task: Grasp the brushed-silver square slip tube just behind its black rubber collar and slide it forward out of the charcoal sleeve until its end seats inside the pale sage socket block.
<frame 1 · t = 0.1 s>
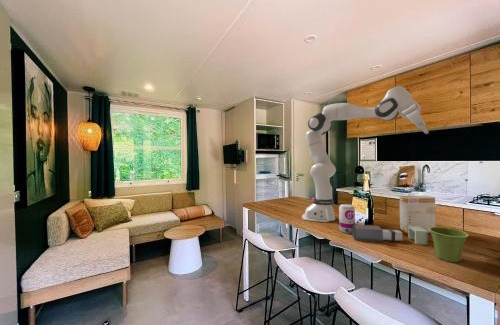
hand: (426, 132, 110), 54 cm above the table, tool tilted 30°, fingers open, 8 cm apart
coffeecake box: (417, 231, 120), on the table
supplement can: (347, 231, 122), on the table
socket: (417, 241, 105), on the table
sleeve: (366, 238, 111), on the table
slip tube: (377, 233, 109), point 3 cm above the table, slide at 0.0 cm
plant pot: (448, 259, 87), on the table
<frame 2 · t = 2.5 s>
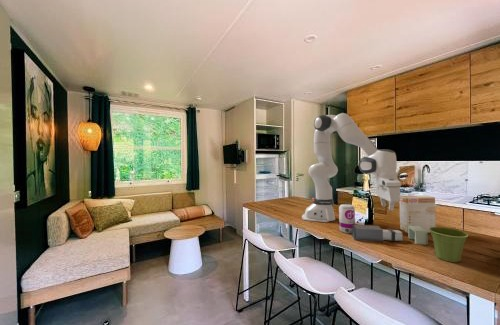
hand: (387, 208, 108), 16 cm above the table, tool pointing down, fingers open, 8 cm apart
nothing on the table moved.
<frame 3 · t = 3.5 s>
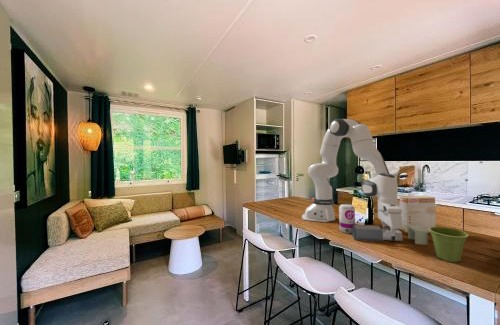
hand: (388, 232, 108), 4 cm above the table, tool pointing down, fingers open, 8 cm apart
nothing on the table moved.
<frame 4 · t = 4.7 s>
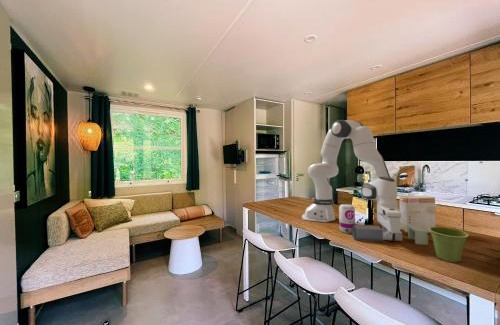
hand: (387, 235, 108), 2 cm above the table, tool pointing down, fingers closed on slip tube, 4 cm apart
slip tube: (377, 233, 109), point 3 cm above the table, slide at 0.0 cm, touching gripper
everything else where it was.
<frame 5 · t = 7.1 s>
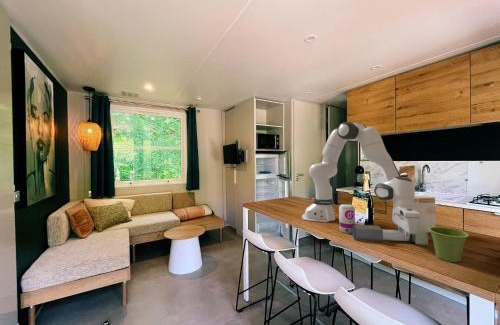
hand: (404, 236, 106), 2 cm above the table, tool pointing down, fingers closed on slip tube, 4 cm apart
slip tube: (393, 234, 108), point 3 cm above the table, slide at 7.5 cm, touching gripper
everything else where it was.
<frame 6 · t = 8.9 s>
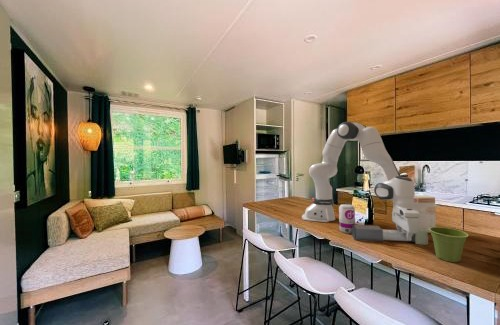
hand: (404, 236, 106), 2 cm above the table, tool pointing down, fingers open, 8 cm apart
slip tube: (393, 234, 108), point 3 cm above the table, slide at 7.5 cm
everything else where it was.
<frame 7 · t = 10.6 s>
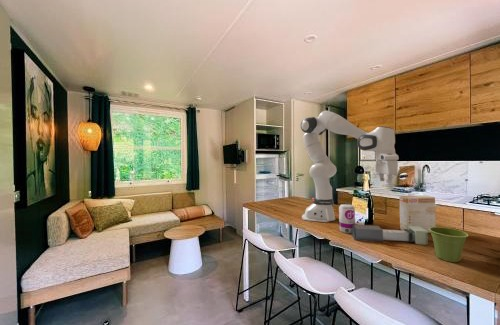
hand: (385, 182, 114), 29 cm above the table, tool pointing down, fingers open, 8 cm apart
nothing on the table moved.
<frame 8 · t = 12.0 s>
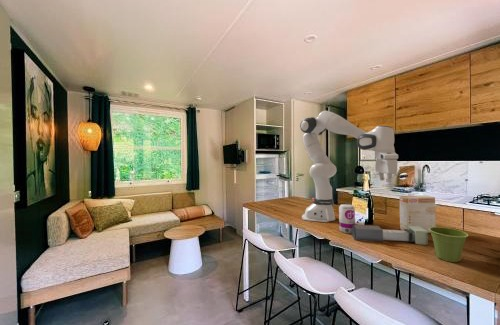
hand: (385, 181, 114), 29 cm above the table, tool pointing down, fingers open, 8 cm apart
nothing on the table moved.
at the end: slip tube slide at 7.5 cm; the gripper is holding nothing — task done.
